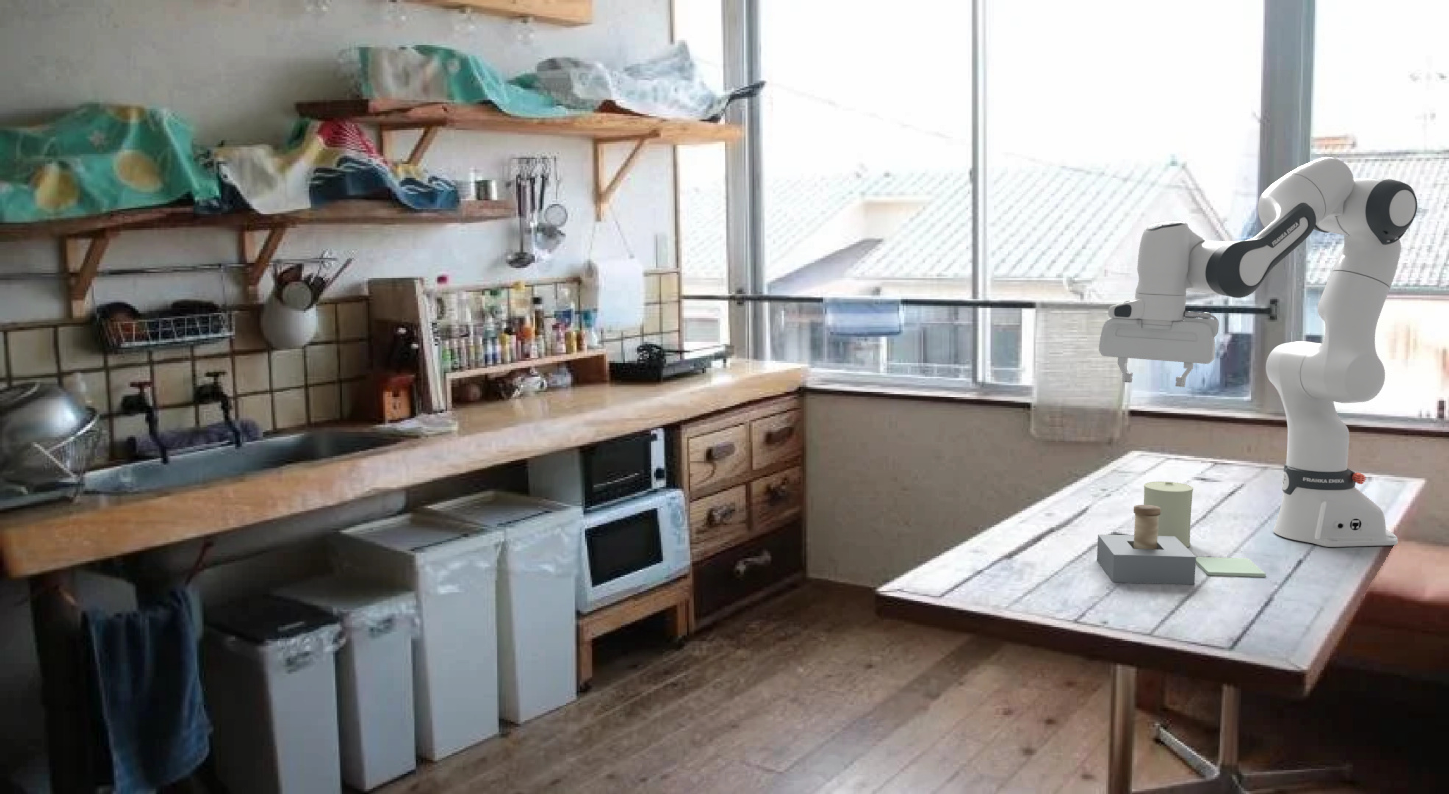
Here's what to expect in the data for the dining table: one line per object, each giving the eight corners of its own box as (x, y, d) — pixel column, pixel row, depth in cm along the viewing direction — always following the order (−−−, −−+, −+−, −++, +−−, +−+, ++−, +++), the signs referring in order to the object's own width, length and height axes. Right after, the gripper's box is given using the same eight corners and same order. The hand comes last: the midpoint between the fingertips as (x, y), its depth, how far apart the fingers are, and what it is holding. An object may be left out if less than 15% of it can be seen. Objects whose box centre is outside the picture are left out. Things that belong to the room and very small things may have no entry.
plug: (1153, 568, 224) (1157, 505, 222) (1160, 576, 220) (1163, 511, 218) (1128, 568, 225) (1131, 504, 223) (1133, 575, 220) (1137, 510, 218)
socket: (1173, 562, 228) (1174, 536, 228) (1194, 584, 215) (1196, 556, 214) (1096, 560, 230) (1098, 534, 229) (1112, 582, 216) (1114, 554, 215)
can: (1189, 539, 245) (1192, 480, 243) (1191, 551, 236) (1194, 490, 234) (1141, 535, 248) (1143, 477, 246) (1140, 547, 239) (1143, 487, 237)
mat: (1247, 561, 229) (1247, 558, 229) (1265, 576, 219) (1265, 573, 219) (1192, 560, 230) (1192, 556, 230) (1208, 575, 220) (1208, 572, 220)
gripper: (1221, 312, 222) (1215, 387, 224) (1106, 306, 232) (1101, 378, 234) (1217, 313, 217) (1210, 391, 219) (1099, 307, 227) (1094, 381, 228)
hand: (1153, 384), depth 226 cm, fingers open, 8 cm apart
